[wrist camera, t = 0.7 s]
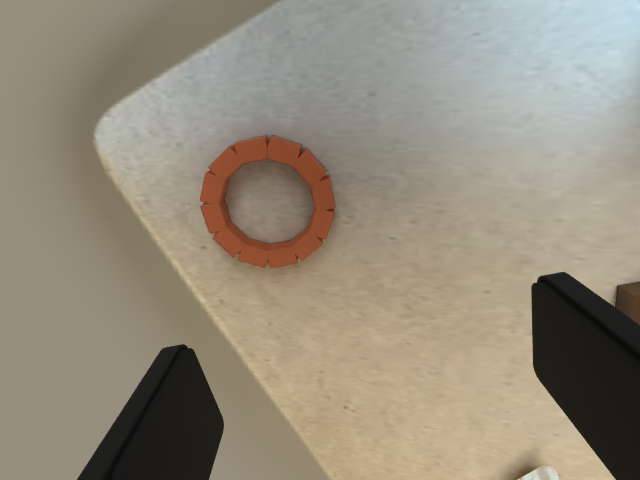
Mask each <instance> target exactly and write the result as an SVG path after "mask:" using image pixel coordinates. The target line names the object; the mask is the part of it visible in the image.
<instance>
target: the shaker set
mask: <svg viewBox="0 0 640 480" xmlns="http://www.w3.org/2000/svg"><path fill="white" fill-rule="evenodd" d="M517 480H559V479H558V475H557V473H556V471H555V469H554V468H552V467H550V466H544V465H542V466H540V467H538V468H537V469H535V470H533V471H532V472H530V473H528V474H526V475H525V476H523V477H521V478H519V479H517Z"/></svg>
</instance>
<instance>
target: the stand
mask: <svg viewBox="0 0 640 480" xmlns="http://www.w3.org/2000/svg"><path fill="white" fill-rule="evenodd" d="M616 308H617V309H618V310H619V311H621V312H622V313H624V314H625V315H626V316H628V317H629V318H631V319H632V320H633V321H635V322H636V323H638V324H639V325H640V282H637V283H631V284H625V285H619V286H618V290H617V301H616Z"/></svg>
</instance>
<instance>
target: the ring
mask: <svg viewBox="0 0 640 480" xmlns="http://www.w3.org/2000/svg"><path fill="white" fill-rule="evenodd" d="M301 147H302V145H301V144H298V143H295V142H292V141H289V140H286V139H283V138H280V137H277V136H274V135H273V136H272V137H270V140H269V139H268V136H267V135H265V136H260V137H256V138H252V139H247V140H243V141H239V142H237V143H235V144H234V145H232V146H230V147H228V148H227V149H226V150H225V151H224V152H223V153H222V154H221V155H220V156H219V157H218V158H217V159H216V160H215V161H214V162H213V163H212V164H211V165H210V166H209V169H210V170H209V171H208V172H206V173H205V178H204V182H203V187H202V192H201V197H200V201H202V202H205V203H204V204H202V205H201V206H200V207H201V210H202V213H203V216H204V219H205V222H206V225H207V228H208V230H209V233H214V232H217V233H216V234H215V235H214V236H213V239H214V240H215V241H216V242H217V243H218V244H219V245H220V246H222V247H223V248H224V249H225V250H226V251H227V252H228V253H229V254H230V255H231V256H232V257H235V256H236V255H237V254H238V253H239V252H240V254H239V258H238V260H240V261H243V262H247V263H250V264H254V265H257V266H261V267H264V268H265V267H266V265H267V262H269V266H270V268H274V267H279V266H284V265H289V264H295V263H297V261H298V258H299V259H300V260H304V259H305V258H306V257H307V256H308V255H310V254H311V253H312V252H313V251H314V250H316V249H317V248H318V247H319V246H320V245H322V243H323V239H326V237H327V235H328V232H329V229H330V226H331V223H332V220H333V218H334V215H335V210H334V208H335V201H334V196H333V191H332V186H331V181H330V177H329V175H327V176H325V175H326V174H327V170H326V169H325V168H324V167H323V166H322V164H321V163H320V162H319V161H318V160H317V159H316V158H315V157H314V155H313V154H312V153H311V152H310V151H309V150H308V149H307V148H306V149H305V150H304V151H303V152H302V153H301V154H300V151H301ZM299 154H300V155H299ZM264 159H270V160H273V161H276V162H279V163H282V164H286V165H289V166H292V167H293V168H294V169H295V170H296V171H297V172H298V173H299V174H300V175H301V176H302V178H303V179H304V180H305V181H306V182H307V183H308V184H309V185H310V188H311V192H312V197H313V201H314V206H315V208H314V211H313V214H312V217H311V220H310V223H309V226H308V227H307V228H306V229H304V230H303V231H302V232H301V233H300V234H299V235H297V236H296V237H295V238H294V239H293V240H290V241H285V242H280V243H275V244H267V243H263V242H260V241H257V240H253V239H250V238H248V237H247V236H246V235H245V234H244V233H243V232H242V231H240V230H239V229H238V228H237V227H236V226H235V225H234V224H233V223H232V222H231V219H230V216H229V213H228V210H227V207H226V204H225V201H224V199H225V195H226V190H227V186H228V182H229V177H231V176H232V175H233V174H234V173H235V172H236V171H237V170H238V169H239V168H240V167H241V166H242V165H243V164H245V163H250V162H254V161H259V160H264Z"/></svg>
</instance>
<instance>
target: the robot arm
mask: <svg viewBox="0 0 640 480" xmlns="http://www.w3.org/2000/svg"><path fill="white" fill-rule="evenodd" d="M531 290H532V335H533V367H534V371H535V373H536V375H537V377H538V379H539V380H540V382H541V383H542V384H543V386H544V387H545V388H546V390H547V391H548V392H549V393H550V395H551V396H552V397H553V399H554V400H555V401H556V403H557V404H558V405H559V406H560V408H561V409H562V410H563V412H564V413H565V414H566V415H567V417H568V418H569V419H570V421H571V422H572V423H573V425H574V426H575V427H576V428H577V430H578V431H579V432H580V434H581V435H582V436H583V438H584V439H585V440H586V441H587V443H588V444H589V445H590V447H591V448H592V449H593V451H594V452H595V453H596V454H597V456H598V457H599V458H600V460H601V461H602V462H603V464H604V465H605V466H606V467H607V469H608V470H609V471H610V473H611V474H612V475H613V476H614V478H615V479H616V480H640V325H639V324H638V323H636V322H635V321H633V320H632V319H631V318H629V317H628V316H626V315H625V314H624V313H622V312H621V311H619V310H618V309H617V308H615V307H614V306H612V305H611V304H610V303H608V302H607V301H605V300H604V299H603V298H601V297H600V296H598V295H597V294H595V293H594V292H593V291H591V290H590V289H588V288H587V287H586V286H584V285H583V284H581V283H580V282H579V281H577V280H576V279H574V278H573V277H572V276H570V275H569V274H567V273H565V272H560V273H555V274H549V275H544V276H540V277H539V278H538V280H537V283H534V284H532V289H531ZM223 429H224V422H223V418H222V415H221V413H220V410H219V408H218V406H217V403H216V401H215V399H214V396H213V394H212V392H211V389H210V387H209V385H208V382H207V380H206V378H205V375H204V373H203V371H202V368H201V366H200V364H199V361H198V359H197V357H196V354H195V352H194V350H193V349H191V348H188V347H187V346H186V345H184V344H182V345H176V346H171V347H166V348H163V349H162V350H161V351H160V353H159V354H158V356H157V357H156V359H155V360H154V362H153V363H152V365H151V366H150V368H149V369H148V371H147V373H146V374H145V376H144V377H143V379H142V380H141V382H140V383H139V385H138V387H137V388H136V390H135V391H134V393H133V394H132V396H131V397H130V399H129V401H128V402H127V403H126V405H125V406H124V408H123V410H122V411H121V413H120V414H119V416H118V417H117V419H116V421H115V422H114V423H113V425H112V427H111V428H110V430H109V431H108V433H107V434H106V436H105V437H104V439H103V441H102V442H101V443H100V445H99V447H98V448H97V450H96V451H95V453H94V454H93V456H92V458H91V459H90V461H89V462H88V464H87V465H86V467H85V468H84V470H83V471H82V473H81V474H80V476H79V477H78V479H77V480H209V477H210V474H211V470H212V467H213V464H214V460H215V457H216V454H217V450H218V447H219V443H220V441H221V437H222V434H223Z"/></svg>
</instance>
